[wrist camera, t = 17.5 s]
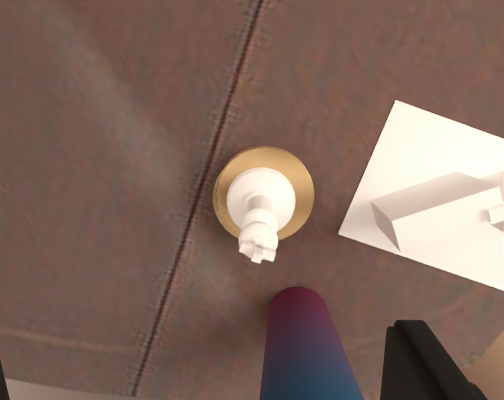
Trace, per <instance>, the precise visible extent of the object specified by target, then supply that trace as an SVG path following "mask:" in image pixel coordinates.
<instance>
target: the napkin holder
mask: <svg viewBox="0 0 504 400" xmlns="http://www.w3.org/2000/svg"><path fill="white" fill-rule="evenodd" d="M338 234H339V235H342V236H345V237H348V238H351V239H354V240H356V241H359V242H362V243H365V244H368V245H371V246H374V247H377V248H380V249H383V250H386V251H389V252H392V253H395V254H398V255H400V256H403V257H406V258H409V259H412V260H415V261H418V262H421V263H424V264H427V265H430V266H433V267H436V268H439V269H442V270H444V271H447V272H450V273H453V274H456V275H459V276H462V277H465V278H468V279H471V280H474V281H477V282H480V283H483V284H486V285H489V286H491V287H494V288H497V289H500V290H503V291H504V139H502V138H500V137H497V136H494V135H491V134H489V133H486V132H483V131H480V130H477V129H475V128H472V127H469V126H466V125H464V124H461V123H458V122H455V121H453V120H450V119H447V118H444V117H442V116H439V115H436V114H433V113H430V112H428V111H425V110H422V109H419V108H417V107H414V106H411V105H408V104H406V103H403V102H400V101H397V100H396V101H395V103H394V105H393V108H392V110H391V112H390V114H389V117H388V119H387V121H386V124H385V126H384V128H383V131H382V133H381V135H380V138H379V140H378V142H377V145H376V147H375V149H374V152H373V154H372V156H371V158H370V161H369V163H368V165H367V168H366V170H365V172H364V175H363V177H362V179H361V182H360V184H359V186H358V189H357V191H356V193H355V196H354V198H353V200H352V202H351V205H350V207H349V209H348V212H347V214H346V216H345V219H344V221H343V223H342V226H341V228H340V230H339V233H338Z"/></svg>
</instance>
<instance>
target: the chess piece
mask: <svg viewBox="0 0 504 400" xmlns="http://www.w3.org/2000/svg"><path fill="white" fill-rule="evenodd" d="M295 201H296V200H295V193H294V189H293V187H292V185H291V183H290V182H289V181H288V179H287V178H286V177H285V176H284V175H282V174H281V173H280V172H278V171H276V170H273V169H270V168H265V167H257V168H252V169H248V170H246V171H244V172H242V173H241V174H239V175H238V176H237V177H236V178H235V179H234V181H233V182H232V183H231V185H230V187H229V190H228V193H227V208H228V212H229V215H230V217H231V219H232V220H233V222H234V223H235V224H236V225H237V226H238V227H239V228H240V229H241V233H240V235H239V246H240V249H239V252H241V253H244V254H245V255H246V256H247V257H249V258H251V261H253V262H256V263H261V260H262V259H266V260H269V261H274V258H275V255H276V248H277V246H278V237H277V234H276V233H277V231H279V230H281V229H282V228H283V227H284V226H285V225H286V224H287V223H288V222H289V220H290V219H291V217H292V215H293V212H294V209H295Z"/></svg>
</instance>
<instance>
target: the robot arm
mask: <svg viewBox="0 0 504 400" xmlns="http://www.w3.org/2000/svg"><path fill="white" fill-rule="evenodd" d="M0 400H10V399H9V395H8V390H7V386H6V382H5V378H4V374H3V370H2V365H1V361H0ZM380 400H487V398H486V397H485V395H484V394H483V393H482V391H481V390H480V389H479V388H478V387H477V386H476V385H474V384H473V383H471V382H468V380H467V379H466V377H465V376H464V375H463V373H462V372H461V371H460V369H459V368H458V367H457V365H456V364H455V362H454V361H453V360H452V358H451V357H450V356H449V354H448V353H447V352H446V350H445V349H444V347H443V346H442V345H441V343H440V342H439V341H438V339H437V338H436V337H435V335H434V334H433V332H432V331H431V330H430V328H429V327H428V326H427V324H426V323H425V322H424V321H423V320H397V321H396V322H395V324H394V327H388V328H387V332H386V343H385V353H384V364H383V375H382V385H381V396H380Z"/></svg>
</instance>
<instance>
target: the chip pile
mask: <svg viewBox="0 0 504 400" xmlns="http://www.w3.org/2000/svg"><path fill="white" fill-rule="evenodd" d="M257 167H265V168H270V169H273V170H276V171H278V172H280V173H281V174H282V175H284V176H285V177H286V178H287V179H288V181H289V182H290V183H291V185H292V187H293V189H294V193H295V200H296V201H295V209H294V212H293V215H292V217H291V219H290V220H289V222H288V223H287V224H286V225H285V226H284V227H283V228H282V229H281V230H279V231H277V233H276V234H277V237H278V240H281V239H284V238H286V237H288V236H290V235H292V234H293V233H295V232H296V231H297V230H299V229H300V228H301V227H302V225H303V224H304V223H305V222H306V220H307V219H308V217H309V215H310V213H311V210H312V207H313V203H314V187H313V183H312V180H311V177H310V175H309V173H308V171H307V169H306V168H305V166H304V165H303V164H302V162H301V161H300V160H299V159H298V158H296V157H295V156H294V155H293V154H291V153H290V152H287V151H285V150H283V149H280V148H277V147H272V146H255V147H250V148H247V149H244V150H242V151H241V152H239V153H237V154H236V155H234V156H233V157H232V158H231V159H230V160H229V161H228V163H227V164H226V165H225V167H224V168H223V170H222V171H221V173H220V175H219V176H218V178H217V180H216V182H215V186H214V190H213V206H214V210H215V213H216V216H217V218H218V219H219V221H220V223H221V224H222V225H223V227H224V228H225V229H226V230H227V231H228V232H229V233H231V234H232V235H234V236H235V237H237V238H239V235H240V233H241V229H240V228H239V227H238V226H237V225H236V224H235V223H234V222H233V220H232V219H231V217H230V215H229V212H228V208H227V193H228V190H229V187H230V185H231V183H232V182H233V181H234V179H235V178H236V177H237V176H238V175H239V174H241V173H242V172H244V171H246V170H248V169H252V168H257Z"/></svg>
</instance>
